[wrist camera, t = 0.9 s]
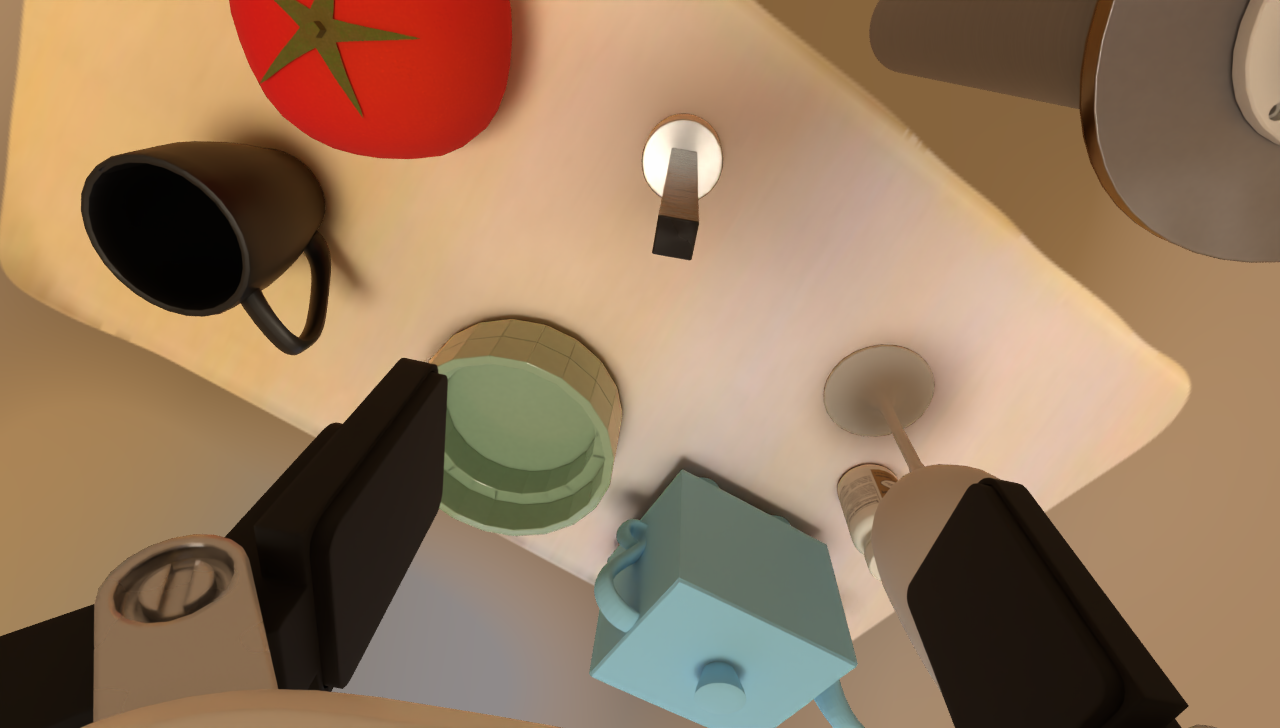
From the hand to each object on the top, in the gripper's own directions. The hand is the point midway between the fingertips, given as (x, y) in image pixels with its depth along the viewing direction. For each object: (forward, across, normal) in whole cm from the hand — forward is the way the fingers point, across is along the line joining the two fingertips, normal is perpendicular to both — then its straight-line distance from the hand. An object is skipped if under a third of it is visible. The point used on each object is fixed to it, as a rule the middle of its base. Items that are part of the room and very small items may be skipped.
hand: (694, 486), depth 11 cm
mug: (+28, +23, +8) cm, 37 cm away
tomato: (+28, +16, -4) cm, 32 cm away
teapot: (+28, -10, +28) cm, 41 cm away
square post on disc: (+28, +1, -1) cm, 28 cm away
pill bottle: (+28, -18, +19) cm, 39 cm away
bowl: (+28, +8, +18) cm, 34 cm away
